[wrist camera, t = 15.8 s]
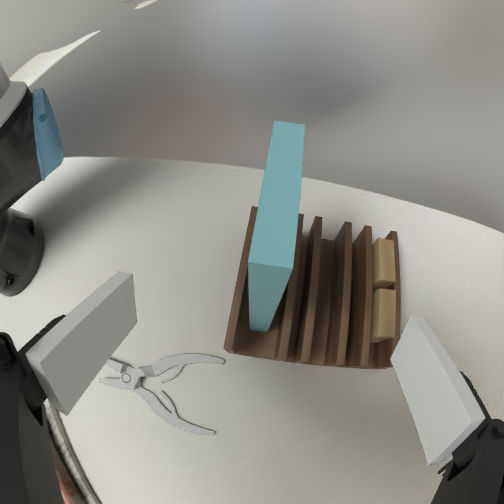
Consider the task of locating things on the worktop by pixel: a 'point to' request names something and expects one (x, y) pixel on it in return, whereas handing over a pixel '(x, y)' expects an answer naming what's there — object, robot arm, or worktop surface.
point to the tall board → (275, 224)
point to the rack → (318, 304)
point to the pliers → (133, 375)
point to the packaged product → (67, 463)
